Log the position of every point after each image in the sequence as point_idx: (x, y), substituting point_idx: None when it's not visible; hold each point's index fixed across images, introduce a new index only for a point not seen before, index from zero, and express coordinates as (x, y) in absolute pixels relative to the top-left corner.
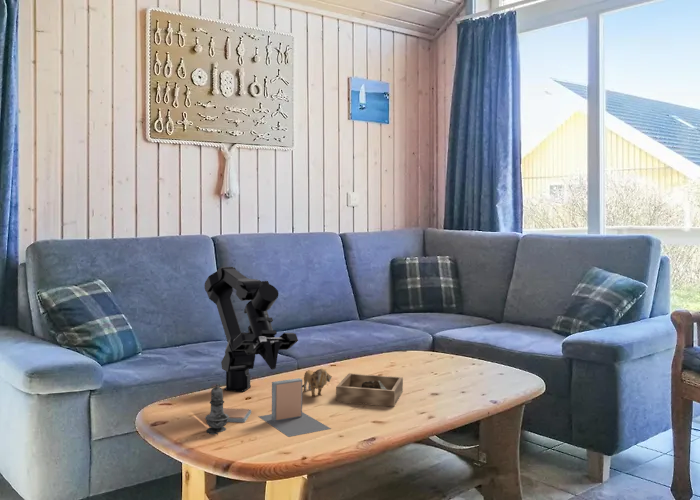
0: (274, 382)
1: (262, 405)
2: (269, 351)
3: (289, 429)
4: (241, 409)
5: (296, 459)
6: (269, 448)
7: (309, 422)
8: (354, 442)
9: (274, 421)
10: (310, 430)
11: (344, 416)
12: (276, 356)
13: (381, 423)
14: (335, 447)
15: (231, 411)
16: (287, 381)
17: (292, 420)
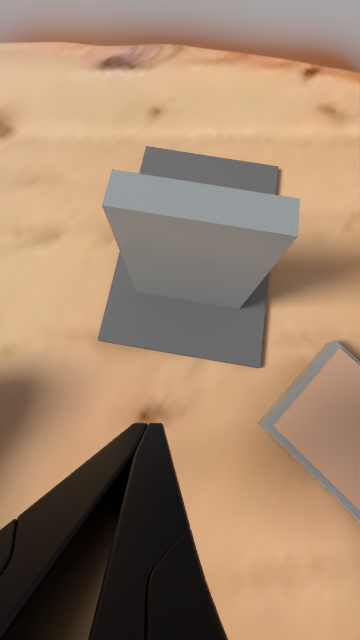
0: (289, 218)
1: None
2: (185, 613)
3: None
4: (305, 441)
5: (329, 75)
6: (351, 149)
7: None
8: (161, 70)
9: None
10: (200, 168)
11: (27, 208)
12: (53, 505)
13: (3, 113)
14: (217, 74)
15: (352, 444)
16: (209, 191)
17: None
